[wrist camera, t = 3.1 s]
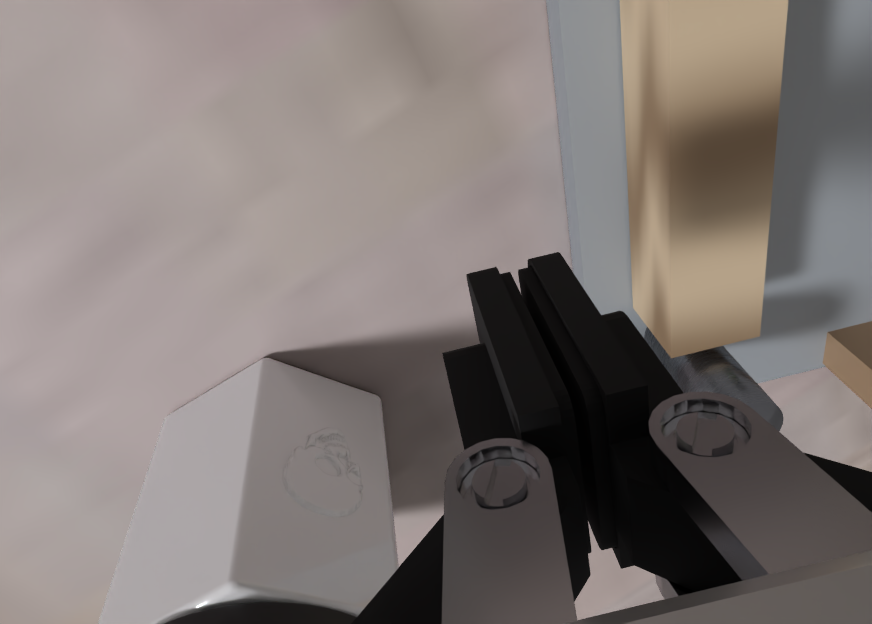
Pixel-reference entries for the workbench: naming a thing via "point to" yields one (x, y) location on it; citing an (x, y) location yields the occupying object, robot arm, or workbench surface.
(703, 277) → the oak leg
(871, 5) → the jig board
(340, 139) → the workbench surface
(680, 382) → the pivot pin
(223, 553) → the jar
